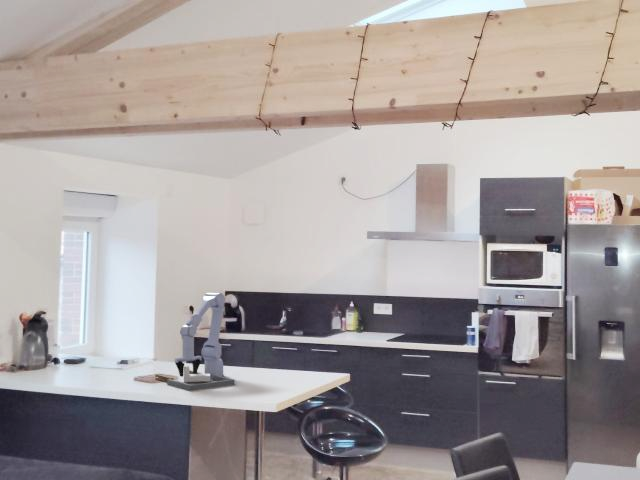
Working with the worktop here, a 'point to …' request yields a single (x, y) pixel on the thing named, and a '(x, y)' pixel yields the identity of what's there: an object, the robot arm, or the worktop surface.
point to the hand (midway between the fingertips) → (188, 375)
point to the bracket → (195, 376)
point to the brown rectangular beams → (164, 378)
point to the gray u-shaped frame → (219, 382)
